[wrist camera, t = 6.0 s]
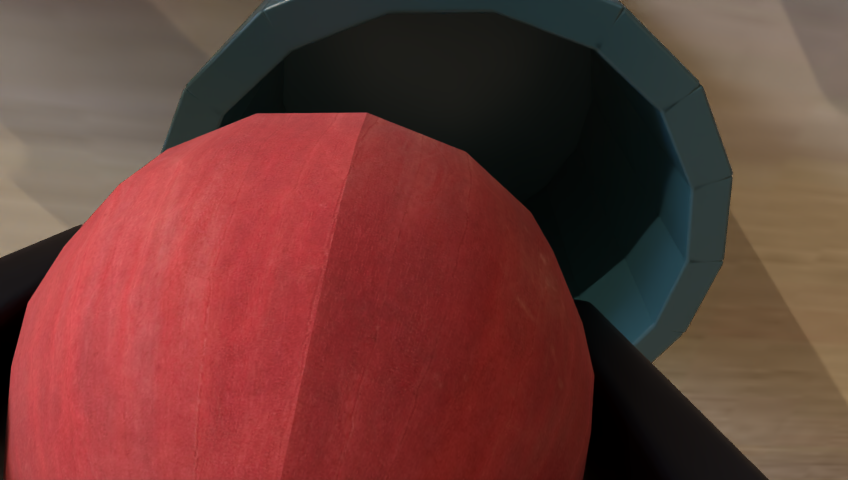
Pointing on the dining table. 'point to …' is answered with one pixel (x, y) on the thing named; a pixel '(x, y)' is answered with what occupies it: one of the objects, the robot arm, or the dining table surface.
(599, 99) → the tin
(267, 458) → the onion
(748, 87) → the dining table surface
